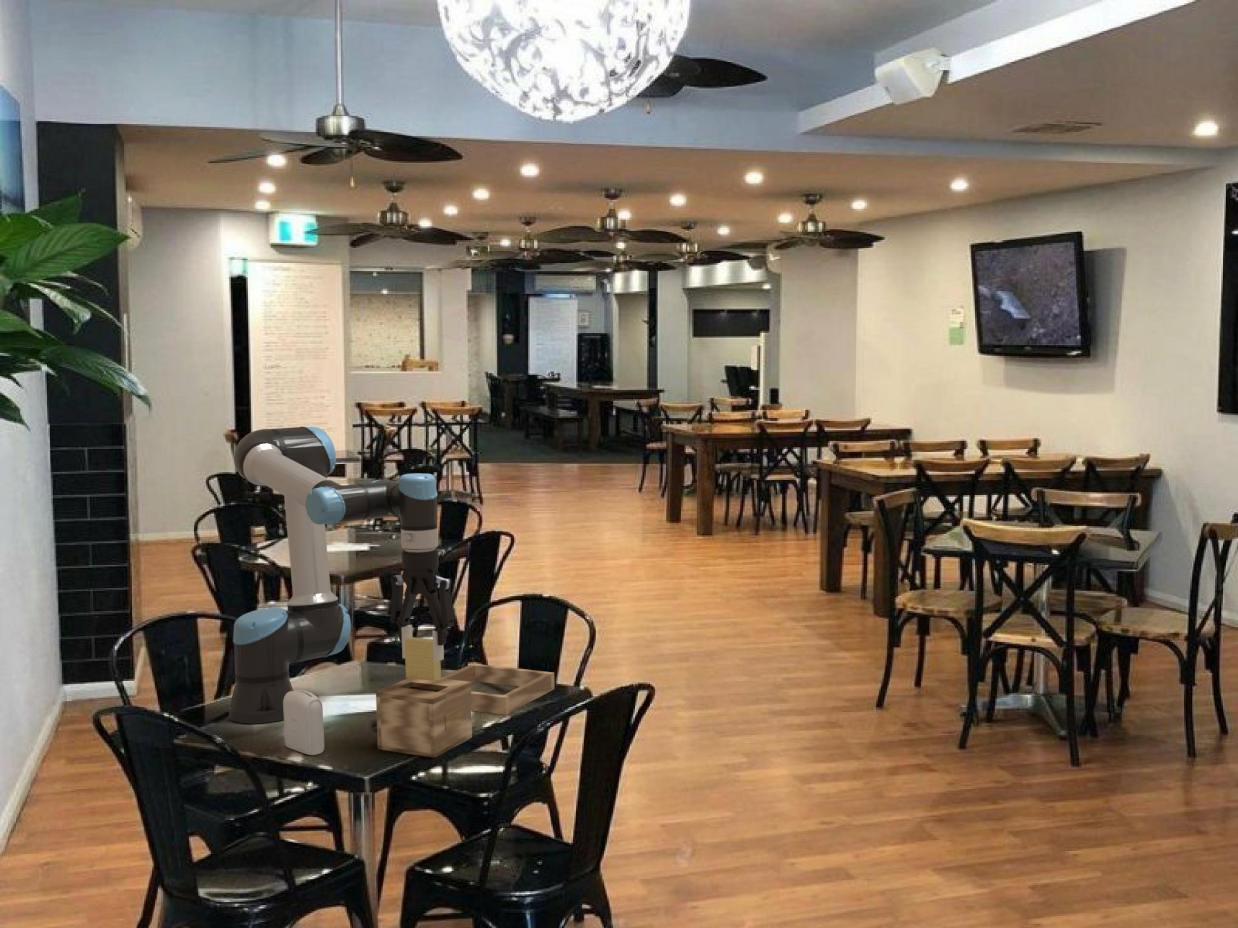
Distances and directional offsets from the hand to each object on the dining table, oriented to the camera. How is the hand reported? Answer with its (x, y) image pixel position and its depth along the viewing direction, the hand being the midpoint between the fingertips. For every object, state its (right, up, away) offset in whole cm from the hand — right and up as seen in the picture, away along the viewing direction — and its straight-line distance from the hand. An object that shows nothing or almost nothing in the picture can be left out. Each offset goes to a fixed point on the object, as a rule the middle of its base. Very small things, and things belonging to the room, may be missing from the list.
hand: (423, 658), depth 247 cm
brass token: (0, -4, 0) cm, 4 cm away
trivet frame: (+10, -15, +36) cm, 40 cm away
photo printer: (-24, -19, -1) cm, 31 cm away
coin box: (0, -18, +2) cm, 18 cm away
